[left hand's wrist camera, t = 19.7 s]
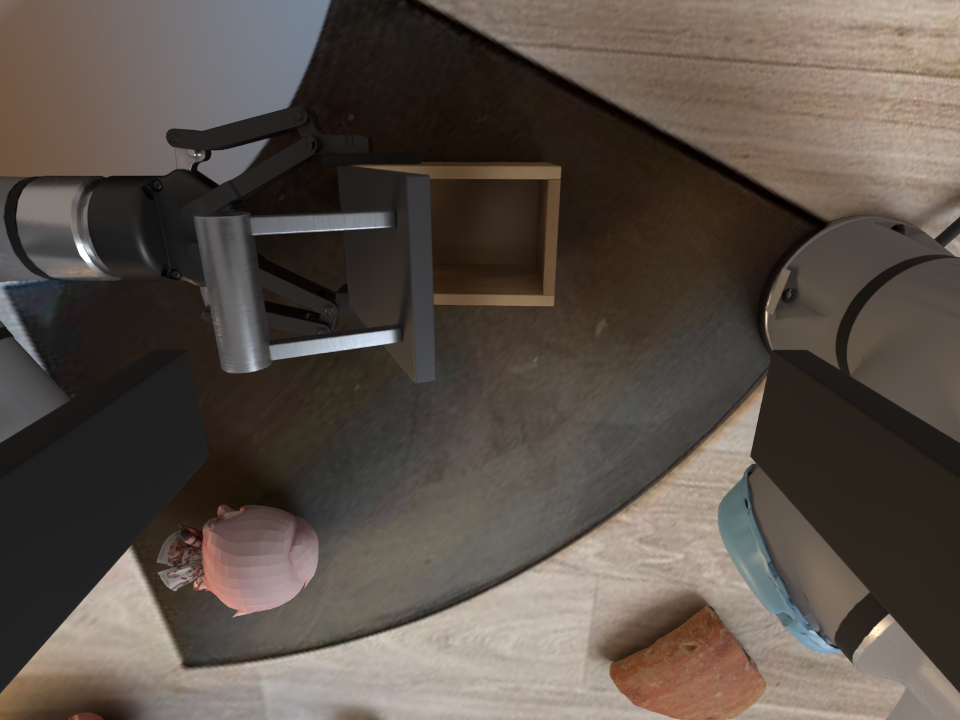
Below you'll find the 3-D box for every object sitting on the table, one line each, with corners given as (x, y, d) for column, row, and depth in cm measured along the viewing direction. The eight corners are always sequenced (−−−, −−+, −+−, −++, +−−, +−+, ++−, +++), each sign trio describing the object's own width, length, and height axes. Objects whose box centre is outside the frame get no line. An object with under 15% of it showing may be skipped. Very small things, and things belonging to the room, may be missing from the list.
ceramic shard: (685, 766, 64) (606, 683, 62) (678, 715, 70) (605, 638, 68) (802, 725, 59) (719, 633, 57) (783, 673, 64) (707, 588, 63)
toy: (207, 597, 60) (339, 594, 58) (138, 657, 49) (298, 654, 48) (198, 492, 59) (330, 486, 58) (126, 528, 48) (287, 523, 47)
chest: (549, 162, 44) (561, 166, 34) (544, 272, 47) (554, 306, 37) (385, 161, 45) (347, 165, 34) (391, 270, 48) (358, 303, 38)
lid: (430, 174, 22) (182, 179, 18) (436, 380, 25) (228, 417, 21) (353, 165, 34) (196, 167, 30) (364, 304, 37) (223, 320, 34)
